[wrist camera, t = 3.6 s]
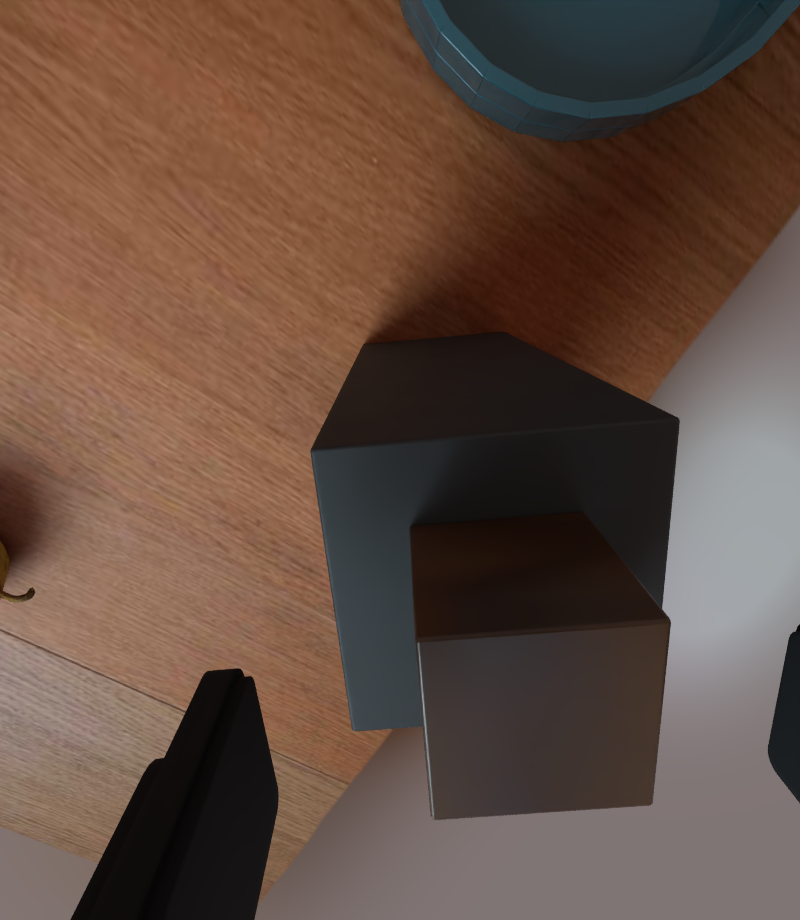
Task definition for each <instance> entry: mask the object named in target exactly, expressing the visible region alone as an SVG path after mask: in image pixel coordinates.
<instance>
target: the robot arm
mask: <svg viewBox="0 0 800 920" xmlns="http://www.w3.org/2000/svg"><path fill="white" fill-rule="evenodd" d="M768 755H769V759H770V762H771V764H772V766H773V768H774V770H775V772H776V773H777V775H778V776H779V777H780V778H781V780H782V781H783V782H784V783H785V785H786V786H787V787H788V789H789V790H790V791H791V792H792V794H793V795H794V796H795V798H796V799H797V800H798V801H799V803H800V625H799V626H798V627H797V630H796V632H793V633H792V634H791V635H790V637H789V641H788V646H787V652H786V656H785V662H784V667H783V672H782V677H781V682H780V688H779V693H778V698H777V703H776V708H775V713H774V718H773V724H772V729H771V734H770V740H769V744H768ZM277 810H278V786H277V781H276V777H275V772H274V768H273V763H272V759H271V754H270V750H269V745H268V741H267V736H266V732H265V727H264V723H263V718H262V714H261V709H260V705H259V700H258V696H257V691H256V687H255V682H254V679H253V678H252V677H251V676H248V677H244V674H243V672H242V670H241V669H226V670H213V671H207V672H206V673H205V674H204V675H203V677H202V679H201V681H200V683H199V685H198V687H197V690H196V692H195V694H194V696H193V698H192V700H191V702H190V704H189V706H188V709H187V711H186V713H185V715H184V717H183V719H182V721H181V723H180V726H179V728H178V730H177V732H176V734H175V736H174V738H173V740H172V742H171V745H170V747H169V749H168V751H167V753H166V755H165V757H164V758H160V759H155V760H154V761H153V762H152V763H151V764H149V766H148V767H147V769H146V771H145V772H144V774H143V776H142V778H141V780H140V782H139V784H138V786H137V788H136V790H135V792H134V794H133V796H132V798H131V800H130V802H129V804H128V806H127V808H126V810H125V812H124V814H123V816H122V818H121V820H120V822H119V824H118V826H117V828H116V830H115V832H114V834H113V836H112V838H111V840H110V842H109V844H108V846H107V848H106V850H105V852H104V854H103V856H102V858H101V860H100V862H99V864H98V866H97V868H96V870H95V872H94V874H93V876H92V878H91V880H90V882H89V884H88V886H87V888H86V890H85V892H84V894H83V896H82V898H81V900H80V902H79V904H78V906H77V908H76V910H75V912H74V914H73V916H72V918H71V920H254V919H255V914H256V909H257V905H258V900H259V895H260V891H261V886H262V881H263V876H264V872H265V867H266V862H267V858H268V853H269V848H270V843H271V839H272V834H273V829H274V825H275V820H276V815H277Z"/></svg>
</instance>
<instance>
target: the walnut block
mask: <svg viewBox="0 0 800 920" xmlns="http://www.w3.org/2000/svg"><path fill="white" fill-rule="evenodd" d="M409 538H410V557H411V577H412V597H413V616H414V636H415V649H416V660H417V670H418V681H419V692H420V703H421V714H422V725H423V735H424V746H425V757H426V768H427V778H428V790H429V800H430V811H431V816H432V819H433V820H443V819H459V818H473V817H488V816H503V815H517V814H532V813H546V812H561V811H576V810H590V809H606V808H620V807H634V806H649V805H651V804H652V803H653V793H654V782H655V773H656V763H657V753H658V744H659V734H660V724H661V714H662V704H663V694H664V684H665V675H666V665H667V656H668V646H669V645H668V644H669V635H670V626H671V622H670V619H669V617H668V616H667V615H666V613H665V612H664V611H663V610H662V608H661V607H660V606H659V605H658V604H657V602H656V601H655V600H654V599H653V597H652V596H651V595H650V594H649V592H648V591H647V590H646V589H645V587H644V586H643V585H642V584H641V582H640V581H639V580H638V579H637V577H636V576H635V575H634V574H633V572H632V571H631V570H630V569H629V567H628V566H627V565H626V564H625V562H624V561H623V560H622V559H621V557H620V556H619V555H618V554H617V552H616V551H615V550H614V549H613V547H612V546H611V545H610V544H609V542H608V541H607V540H606V539H605V538H604V536H603V535H602V534H601V533H600V531H599V530H598V529H597V528H596V526H595V525H594V524H593V523H592V521H591V520H590V519H589V518H588V516H587V515H586V514H585V513H583V512H578V513H565V514H553V515H541V516H528V517H516V518H503V519H491V520H478V521H466V522H454V523H441V524H429V525H416V526H410V528H409Z"/></svg>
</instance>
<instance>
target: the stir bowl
mask: <svg viewBox="0 0 800 920" xmlns="http://www.w3.org/2000/svg"><path fill="white" fill-rule="evenodd" d="M399 3H400V6H401V10H402V13H403V16H404V18H405V21H406V23H407V24H408V26H409V28H410V30H411V32H412V33H413V35H414V37H415V39H416V40H417V42H418V44H419V46H420V47H421V49H422V51H423V53H424V54H425V56H426V58H427V60H428V61H429V63H430V65H431V67H432V68H433V69H434V71H435V72H436V73H437V74H438V75H439V76H440V77H441V78H442V79H443V80H444V81H445V82H446V83H447V84H448V85H449V86H450V87H451V88H452V89H453V90H454V91H455V92H456V93H457V95H458V96H459V97H460V98H461V99H462V100H463V101H464V102H465V103H466V104H467V105H468V106H469V107H471V108H472V109H474V110H476V111H477V112H479V113H481V114H483V115H484V116H486V117H488V118H490V119H492V120H493V121H495V122H497V123H499V124H501V125H502V126H504V127H506V128H508V129H509V130H511V131H515V132H517V133H521V134H526V135H531V136H536V137H540V138H545V139H550V140H555V141H562V142H567V141H577V140H588V139H598V138H609V137H613V136H615V135H618V134H620V133H623V132H625V131H628V130H630V129H633V128H636V127H638V126H641V125H643V124H646V123H648V122H651V121H653V120H656V119H658V118H660V117H662V116H663V115H665V114H667V113H668V112H670V111H672V110H673V109H675V108H676V107H678V106H680V105H681V104H683V103H685V102H686V101H688V100H690V99H691V98H693V97H694V96H696V95H698V94H699V93H701V92H703V91H704V90H706V89H707V88H709V87H710V86H711V85H713V84H714V83H716V82H717V81H718V80H720V79H721V78H722V77H724V76H725V75H727V74H728V73H729V72H731V71H732V70H733V69H735V68H736V67H738V66H739V65H740V64H742V63H743V62H744V61H746V60H747V59H749V58H750V57H751V56H753V55H754V54H756V53H757V52H758V51H759V50H760V49H761V48H762V47H763V46H764V45H765V43H766V42H767V41H768V40H769V39H770V38H771V37H772V36H773V34H774V33H775V32H776V31H777V30H778V29H779V28H780V27H781V25H782V24H783V23H784V22H785V21H786V20H787V19H788V18H789V16H790V15H791V14H792V13H793V12H794V11H795V10H796V9H797V7H798V6H799V5H800V0H399Z"/></svg>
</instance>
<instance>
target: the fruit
mask: <svg viewBox="0 0 800 920" xmlns="http://www.w3.org/2000/svg"><path fill="white" fill-rule="evenodd" d="M8 569H9V557H8V554H7V552H6V550H5V547H4V545H3V544H2V542H1V541H0V599H1V598H2V599H7V600H8V601H10V602H23V601H26V600H29V599H31V598H32V597H33V596H34V594H35V590H34V588H33V587H32V588H30V589H29V591H28V592H27V593H26V594H24V595H20V596H14V595H10V594H8V593H6V592H4V591H3V587H4V584H5V581H6V578H7V574H8Z"/></svg>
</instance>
